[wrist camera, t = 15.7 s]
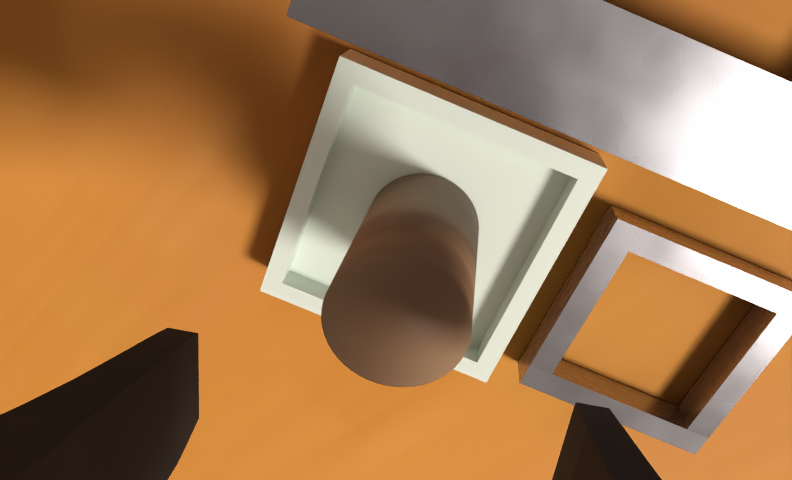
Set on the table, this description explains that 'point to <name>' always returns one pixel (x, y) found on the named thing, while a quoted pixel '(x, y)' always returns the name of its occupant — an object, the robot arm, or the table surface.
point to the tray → (442, 156)
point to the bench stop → (596, 84)
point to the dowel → (406, 284)
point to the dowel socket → (721, 381)
